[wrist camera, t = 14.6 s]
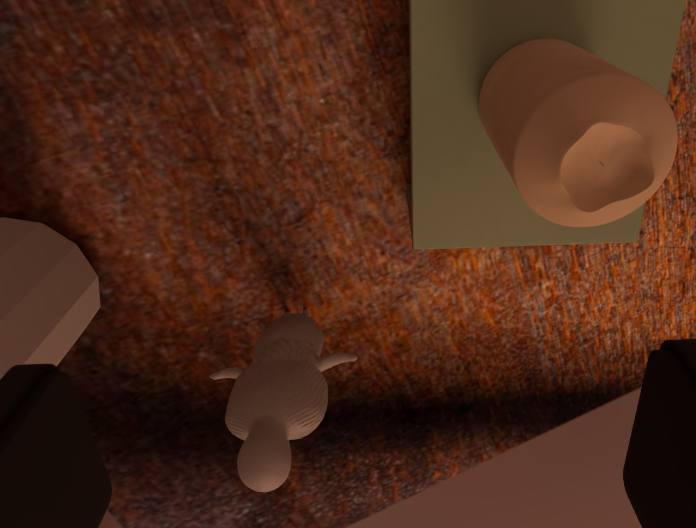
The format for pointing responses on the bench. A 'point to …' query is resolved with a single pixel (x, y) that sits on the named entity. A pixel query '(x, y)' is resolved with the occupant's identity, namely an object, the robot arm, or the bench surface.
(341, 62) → the bench surface
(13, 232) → the jar
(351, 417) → the bench surface
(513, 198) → the shelf
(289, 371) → the figurine
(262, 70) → the bench surface
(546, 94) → the candle
